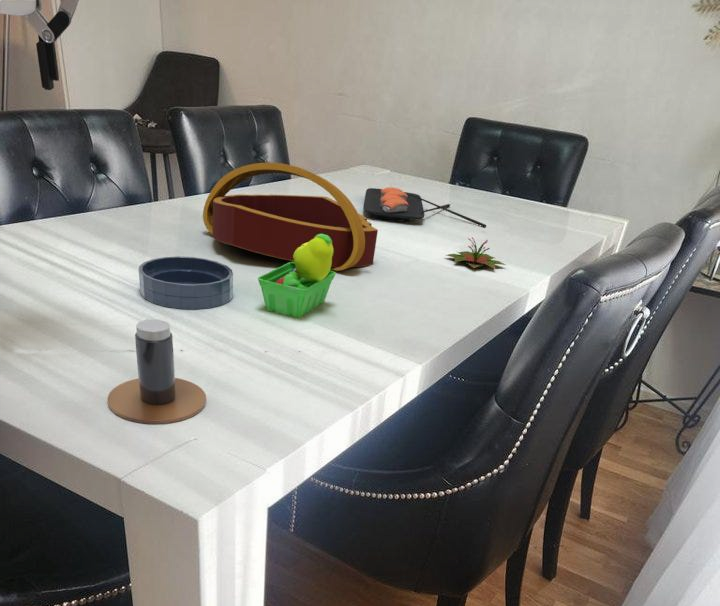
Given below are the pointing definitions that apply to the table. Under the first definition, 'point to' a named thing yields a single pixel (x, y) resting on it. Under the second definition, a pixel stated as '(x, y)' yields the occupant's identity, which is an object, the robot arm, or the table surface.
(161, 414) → the cork coaster
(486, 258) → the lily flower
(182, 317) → the table surface
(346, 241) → the decorative basket
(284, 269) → the fruit basket
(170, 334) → the salt shaker
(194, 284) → the bowl
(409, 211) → the sushi plate
